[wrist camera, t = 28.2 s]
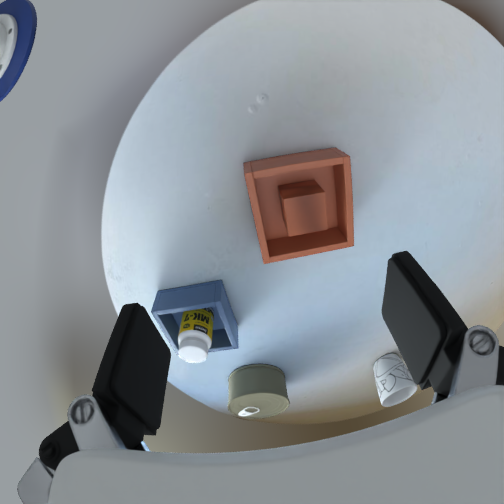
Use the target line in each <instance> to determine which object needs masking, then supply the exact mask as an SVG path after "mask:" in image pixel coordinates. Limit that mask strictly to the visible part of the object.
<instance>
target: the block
mask: <svg viewBox="0 0 504 504" xmlns="http://www.w3.org/2000/svg"><path fill="white" fill-rule="evenodd" d="M278 192H279V198H280V204H281V210H282V216H283V221H284V224H285V226H286V229H287V232H288V235H289V237H291V236H296V235H301V234H306V233H312V232H317V231H322V230H327V229H328V220H327V207H326V196H325V191H324V190H323V189H322V188H321V187H320V185H319V184H318V183H317V182H316V181H315V180H314V179H313V180H307V181H301V182H296V183H290V184H284V185H279V186H278Z"/></svg>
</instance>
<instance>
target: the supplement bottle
mask: <svg viewBox="0 0 504 504" xmlns="http://www.w3.org/2000/svg"><path fill="white" fill-rule="evenodd" d="M213 320H214V313H213V310H212V309H211V307H209V308H202V309H196V310H189V311H183V315H182V320H181V325H180V330H179V335H178V343H179V350H178V354H179V356H180V357H181V358H182V359H183V360H184V361H187V362H190V363H201V362H203V361H205V360H206V359H207V357H208V349H209V348H210V347H211V344H212V332H213Z"/></svg>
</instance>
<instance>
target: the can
mask: <svg viewBox="0 0 504 504" xmlns="http://www.w3.org/2000/svg"><path fill="white" fill-rule="evenodd" d="M289 404H290V402H289V399H288V395H287V389H286V383H285V376H284V373H283V371H282V370H280V369H279V368H277V367H275V366H272V365H267V364H252V365H246V366H243V367H240V368H238V369H236V370H235V371H233V372H232V373H231V374H230V376H229V399H228V410H229V411H230V412H231V413H232V414H234V415H236V416H239V417H243V418H250V419H259V418H267V417H272V416H275V415H278V414H280V413H282V412H284V411H285V410H286V409H287V408H288V407H289Z"/></svg>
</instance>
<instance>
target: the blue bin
mask: <svg viewBox="0 0 504 504" xmlns="http://www.w3.org/2000/svg"><path fill="white" fill-rule="evenodd" d="M209 307H211V309H212V310H213V313H214V320H213V332H212V344H211V347H210V348H209V349H208V352H214V351H222V350H230V349H237V348H238V326H237V323H236V320H235V317H234V314H233V311H232V309H231V306H230V303H229V300H228V297H227V294H226V291H225V288H224V285H223V282H222V280H217V281H212V282H206V283H201V284H195V285H189V286H184V287H178V288H172V289H166V290H161V291H158V292H157V295H156V298H155V301H154V304H153V307H152V311H151V313H152V314H153V316H154V318H155V320H156V321H157V323H158V325H159V326H160V328H161V330H162V331H163V333H164V335H165V336H166V338H167V340H168V341H169V343H170V345H171V346H172V348H173V349H174V351H175V353H176V354H177V355H179V354H178V350H179V343H178V335H179V330H180V325H181V320H182V315H183V311H189V310H196V309H202V308H209Z"/></svg>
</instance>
